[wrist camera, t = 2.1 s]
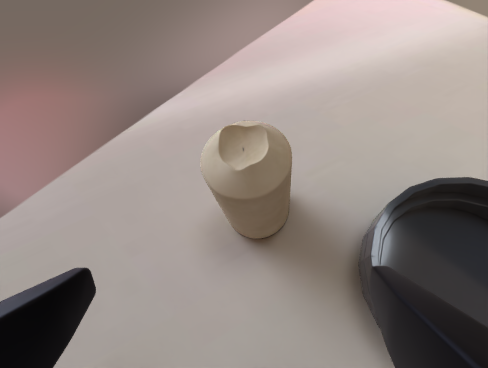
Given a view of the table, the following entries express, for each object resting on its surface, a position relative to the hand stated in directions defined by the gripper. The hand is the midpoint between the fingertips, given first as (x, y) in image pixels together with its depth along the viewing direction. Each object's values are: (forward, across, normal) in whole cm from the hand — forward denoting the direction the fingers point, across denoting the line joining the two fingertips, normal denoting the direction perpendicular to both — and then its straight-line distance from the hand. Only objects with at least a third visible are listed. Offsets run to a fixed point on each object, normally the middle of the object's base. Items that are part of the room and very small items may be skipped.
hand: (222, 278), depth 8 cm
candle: (+15, 0, +4) cm, 15 cm away
